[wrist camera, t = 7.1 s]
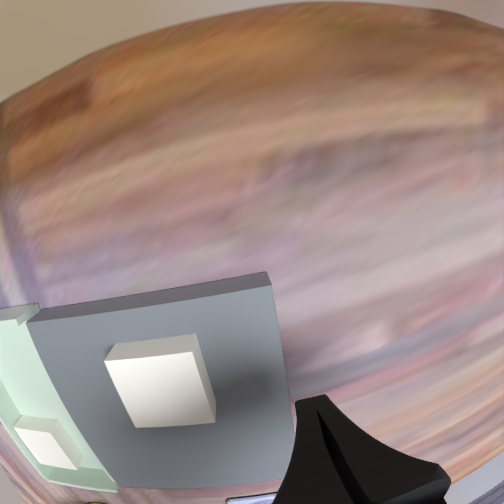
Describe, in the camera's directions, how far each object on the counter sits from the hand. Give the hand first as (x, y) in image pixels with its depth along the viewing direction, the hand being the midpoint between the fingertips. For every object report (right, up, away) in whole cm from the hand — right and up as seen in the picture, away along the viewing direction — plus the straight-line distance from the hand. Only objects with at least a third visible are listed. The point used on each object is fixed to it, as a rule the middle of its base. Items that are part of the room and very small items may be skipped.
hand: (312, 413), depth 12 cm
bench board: (-8, -4, +8) cm, 12 cm away
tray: (-21, -6, +8) cm, 23 cm away
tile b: (-8, 0, +5) cm, 9 cm away
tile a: (-21, -11, +6) cm, 25 cm away
